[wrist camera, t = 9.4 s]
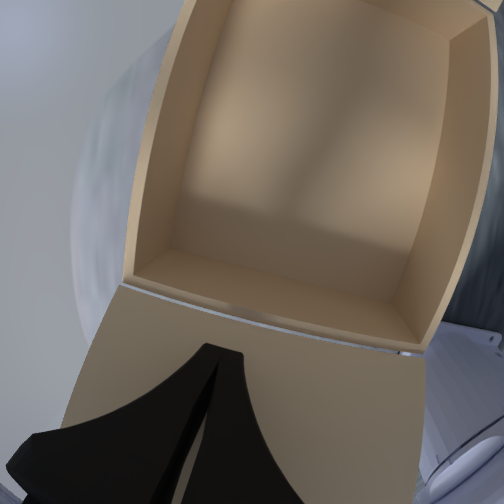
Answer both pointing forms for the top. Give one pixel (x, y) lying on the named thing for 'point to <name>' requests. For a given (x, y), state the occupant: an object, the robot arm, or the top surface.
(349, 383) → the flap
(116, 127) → the top surface
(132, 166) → the top surface
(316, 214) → the carton
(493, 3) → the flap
